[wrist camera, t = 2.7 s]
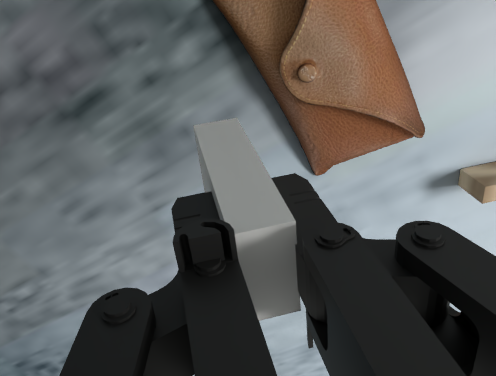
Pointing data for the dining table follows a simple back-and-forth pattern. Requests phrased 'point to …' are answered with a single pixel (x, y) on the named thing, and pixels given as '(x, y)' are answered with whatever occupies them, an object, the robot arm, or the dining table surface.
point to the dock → (479, 181)
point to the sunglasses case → (329, 73)
